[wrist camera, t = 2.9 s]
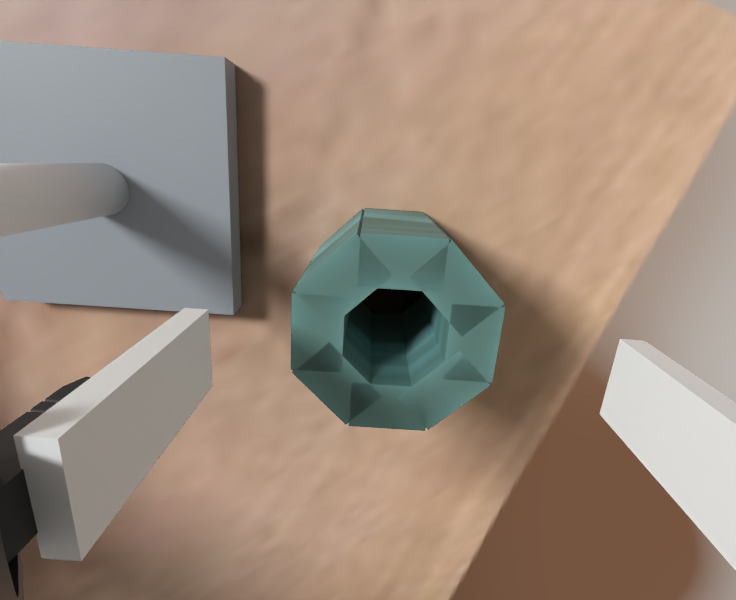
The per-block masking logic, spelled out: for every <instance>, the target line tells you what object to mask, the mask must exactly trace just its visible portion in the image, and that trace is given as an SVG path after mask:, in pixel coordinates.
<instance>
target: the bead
mask: <svg viewBox="0 0 736 600" xmlns="http://www.w3.org/2000/svg"><path fill="white" fill-rule="evenodd" d="M377 288H383V289H398V290H413V291H422V294H421V297H420V298H419V299H418V300H417V301H415V302H414V303H413V304H412V305H410V306H409V307H408V308H407V309H405V310H404V311H403V312H402V313H400V314H384V313H371V312H370V311H369V310H368V309H367V308H366V307H365V305H364V304H363V303H362V301H363V300H364V299H365V298H366V297H368V296H369V295H370V294H371V293H372V292H374V291H375V290H376V289H377ZM505 308H506V307H505V306H504V303H503V301H502V300H501V299H500V298H499V296H498V295H497V294H496V293H495V292H494V290H493V289H492V288H491V287H490V285H489V284H488V283H487V282H486V281H485V279H484V278H483V277H482V276H481V275H480V273H479V272H478V271H477V270H476V268H475V267H474V266H473V265H472V264H471V262H470V261H469V260H468V259H467V257H466V256H465V255H464V254H463V253H462V251H461V250H460V249H459V248H458V246H457V245H456V244H455V243H454V242H453V240H452V239H451V238H450V237H449V236H448V235H447V234H446V233H445V232H444V231H443V230H441V229H440V228H439V227H438V226H437V225H436V224H435V223H434V222H433V221H432V220H431V219H430V218H429V217H428V216H427V215H426V214H424V213H423V212H414V211H400V210H385V209H371V208H365V210H363V209H362V210H361V211H360V212H358V213H357V214H356V215H355V216H354V217H353V218H352V219H351V220H349V221H348V222H347V223H346V224H345V225H344V226H343V227H342V228H341V229H339V230H338V231H337V232H336V233H335V234H334V235H333V236H332V237H330V238H329V239H328V240H327V241H326V242H325V243H324V244H323V245H322V246H320V248H319V249H318V251H317V253H316V254H315V256H314V257H313V259H312V261H311V262H310V264H309V265H308V267H307V269H306V270H305V272H304V273H303V275H302V277H301V278H300V280H299V281H298V283H297V285H296V286H295V288H294V289H293V292H292V308H291V370H293V372H292V373H293V374H294V375H295V376H296V377H297V378H298V379H299V380H300V381H301V382H302V383H303V384H304V385H306V386H307V387H308V388H309V389H310V390H311V391H312V392H313V393H314V394H315V395H316V396H317V397H318V398H319V399H320V400H321V401H322V402H323V403H324V404H325V405H326V406H327V407H328V408H329V409H330V410H331V411H332V412H333V413H334V414H335V415H336V416H337V417H338V418H340V419H341V420H342V421H343V422H344V423H345V424H347V423H348V422H349V426H359V427H375V428H391V429H406V430H422V431H425V427H426V428H427V429H428V430H429V429H430V428H431V427H433V426H434V425H436V424H437V423H438V422H440V421H441V420H443V419H444V418H445V417H447V416H448V415H450V414H451V413H452V412H454V411H455V410H457V409H458V408H459V407H461V406H462V405H464V404H465V403H466V402H468V401H469V400H471V399H472V398H473V397H475V396H476V395H478V394H479V393H480V392H482V391H483V390H485V389H486V388H487V387H489V386H490V384H489V382H492V381H493V376H494V370H495V365H496V359H497V353H498V348H499V342H500V336H501V331H502V325H503V319H504V314H505Z"/></svg>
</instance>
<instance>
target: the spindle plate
mask: <svg viewBox="0 0 736 600" xmlns="http://www.w3.org/2000/svg"><path fill="white" fill-rule="evenodd" d="M0 288H1V293H2V297H3V300H12V301H28V302H43V303H58V304H73V305H88V306H104V307H119V308H134V309H149V310H164V311H181V310H182V309H184V308H195V309H208V310H209V313H210V314H225V315H234V314H235V313H236V312H237V311H238V310H239V308H240V307H241V306H242V290H241V254H240V219H239V183H238V147H237V111H236V76H235V64H234V63H232V62H231V61H229V60H228V59H227V58H225V57H217V56H203V55H189V54H175V53H161V52H147V51H133V50H119V49H105V48H91V47H78V46H64V45H50V44H36V43H22V42H8V41H0Z"/></svg>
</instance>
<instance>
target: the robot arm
mask: <svg viewBox="0 0 736 600" xmlns="http://www.w3.org/2000/svg"><path fill="white" fill-rule="evenodd" d="M212 386H213V384H212V365H211V347H210V329H209V310H208V309H195V308H184V309H182V310H181V311H180V312H178V313H177V314H176V315H174V316H173V317H172V318H170V319H169V320H167V321H166V322H165V323H163V324H162V325H161V326H159V327H158V328H157V329H155V330H154V331H153V332H151V333H150V334H149V335H147V336H146V337H145V338H143V339H142V340H141V341H139V342H138V343H137V344H135V345H134V346H133V347H131V348H130V349H129V350H127V351H126V352H125V353H123V354H122V355H121V356H119V357H118V358H117V359H115V360H114V361H113V362H111V363H110V364H109V365H107V366H106V367H104V368H103V369H102V370H100V371H99V372H98V373H96V374H95V375H94V376H92V377H84V378H82V379H79V380H77V381H75V382H72V383H70V384H68V385H65V386H63V387H62V388H60V389H59V390H57V391H56V392H55V393H53V394H52V395H50V396H49V397H47V398H46V400H45V402H44V401H42V402H40V403H39V404H38V405H36V406H35V407H33V408H32V409H31V411H30V412H26V413H25V414H23V415H22V416H21V417H19V418H18V419H16V420H15V421H14V422H12V423H11V424H9V425H8V426H7V427H5V428H4V429H2V430H1V431H0V600H24V596H23V570H22V563H21V559H20V555H19V552H20V551H21V550H22V549H23V548H24V547H25V546H26V544H27V543H28V542H29V541H30V540H31V539H32V538H33V537H34V536H35V535H36V537H37V541H38V546H39V550H40V554H41V558H43V559H56V560H69V561H82V560H83V559H84V557H85V556H86V555H87V553H88V552H89V551H90V549H91V548H92V547H93V545H94V544H95V543H96V541H97V540H98V539H99V537H100V536H101V535H102V533H103V532H104V530H105V529H106V528H107V526H108V525H109V524H110V522H111V521H112V520H113V518H114V517H115V516H116V514H117V513H118V512H119V510H120V509H121V508H122V506H123V505H124V504H125V502H126V501H127V500H128V498H129V497H130V496H131V494H132V493H133V492H134V490H135V489H136V488H137V486H138V485H139V484H140V482H141V481H142V480H143V478H144V477H145V476H146V474H147V473H148V472H149V470H150V469H151V468H152V466H153V465H154V464H155V462H156V461H157V460H158V458H159V457H160V456H161V454H162V453H163V452H164V450H165V449H166V448H167V446H168V445H169V444H170V442H171V441H172V440H173V438H174V437H175V436H176V434H177V433H178V432H179V430H180V429H181V428H182V426H183V425H184V424H185V422H186V421H187V420H188V418H189V417H190V415H191V414H192V413H193V411H194V410H195V409H196V407H197V406H198V405H199V403H200V402H201V401H202V399H203V398H204V397H205V395H206V394H207V393H208V391H209V390H210V389H211V387H212ZM600 415H601V416H602V417H603V418H604V420H605V421H606V422H607V423H608V424H609V425H610V426H611V428H612V429H613V430H614V431H615V432H616V434H617V435H618V436H619V437H620V438H621V439H622V440H623V442H624V443H625V444H626V445H627V446H628V447H629V449H631V451H632V452H633V453H634V454H635V455H636V456H637V457H638V459H639V460H640V461H641V462H642V463H643V464H644V466H645V467H646V468H647V469H648V470H649V472H650V473H651V474H652V475H653V476H654V477H655V478H656V479H657V480H658V482H659V483H660V484H661V485H662V486H663V487H664V489H665V490H666V491H667V492H668V493H669V495H670V496H671V497H672V498H673V499H674V500H675V501H676V503H677V504H678V505H679V506H680V507H681V508H682V509H683V511H684V512H685V513H686V514H687V515H688V516H689V518H690V519H691V520H692V521H693V522H694V523H695V524H696V526H697V527H698V528H699V529H700V530H701V531H702V532H703V534H704V535H705V536H706V537H707V538H708V539H709V540H710V542H711V543H712V544H713V545H714V546H715V547H716V549H717V550H718V551H719V552H720V553H721V554H722V555H723V557H724V558H725V559H726V560H727V561H728V562H729V564H730V565H731V566H732V567H733V568H734V569H735V570H736V403H735V402H734V401H732V400H731V399H729V398H728V397H727V396H725V395H724V394H722V393H720V392H719V391H718V390H716V389H715V388H713V387H712V386H710V385H709V384H707V383H706V382H704V381H703V380H701V379H700V378H699V377H697V376H696V375H694V374H693V373H691V372H690V371H688V370H687V369H685V368H684V367H682V366H680V365H679V364H678V363H676V362H675V361H673V360H672V359H670V358H669V357H667V356H666V355H664V354H663V353H662V352H660V351H658V350H657V349H656V348H654V347H653V346H651V345H650V344H648V343H647V342H645V341H641V340H627V339H620V341H619V345H618V348H617V352H616V356H615V360H614V363H613V367H612V370H611V374H610V378H609V381H608V385H607V389H606V392H605V396H604V400H603V403H602V407H601V411H600Z"/></svg>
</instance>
